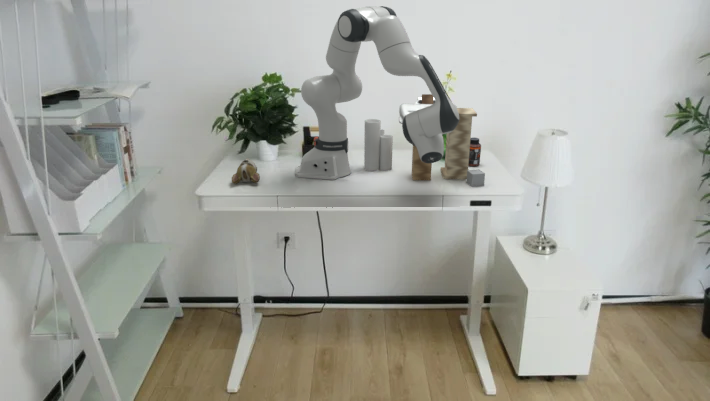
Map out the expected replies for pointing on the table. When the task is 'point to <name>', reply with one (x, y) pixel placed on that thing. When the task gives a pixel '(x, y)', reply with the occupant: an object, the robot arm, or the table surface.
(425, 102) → the walnut rail
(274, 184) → the table surface
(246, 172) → the ceramic sculpture
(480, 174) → the grey block
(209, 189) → the table surface
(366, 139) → the vase
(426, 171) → the oak post
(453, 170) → the birch stand
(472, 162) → the supplement bottle
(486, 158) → the table surface
